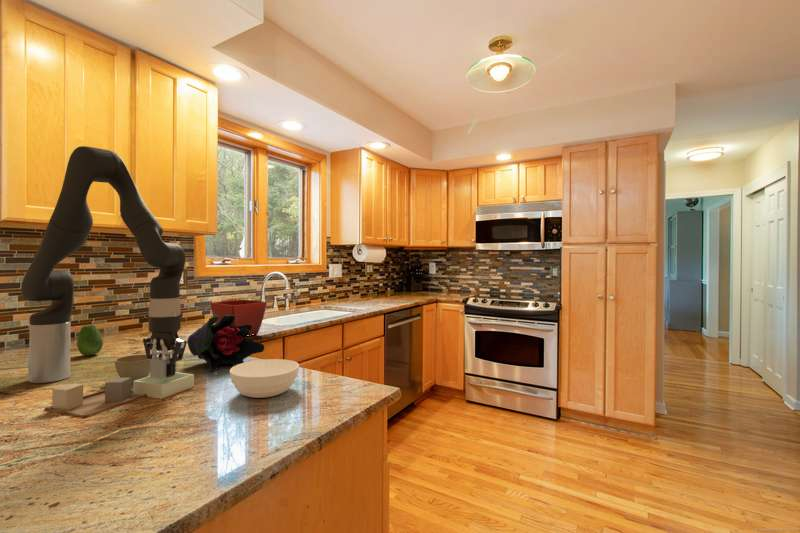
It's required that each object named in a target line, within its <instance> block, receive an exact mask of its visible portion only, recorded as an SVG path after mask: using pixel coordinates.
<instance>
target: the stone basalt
mask: <svg viewBox="0 0 800 533" xmlns="http://www.w3.org/2000/svg"><path fill="white" fill-rule="evenodd" d="M104 390H105V402H122V401H124V400H126V399H128V398H129V397H131V394H132V390H133V383H132V378H120V377H114V378H112V379H110V380H108V381H106V382H104Z"/></svg>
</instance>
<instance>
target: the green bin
mask: <svg viewBox="0 0 800 533" xmlns="http://www.w3.org/2000/svg"><path fill="white" fill-rule="evenodd" d="M194 387H195V374H193V373H185V372H178V371H176V372H175V375H174V376H171V377H166V378H163V379H157V378H150V375H148V376H147V377H145V378H142V379H138V380H135V381H133V383H132V390H133V394H136V395H144V394H147V397H149V398H154V399H155V398H156V399H162V400H163V399H164V398H167V397H171V396H173V395H175V394H178V393H181V392H183V391H186V390H189V389H191V388H194Z"/></svg>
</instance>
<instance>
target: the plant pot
mask: <svg viewBox="0 0 800 533" xmlns="http://www.w3.org/2000/svg"><path fill="white" fill-rule="evenodd" d="M210 308H211V313H212V317H213V316H214V315H215V314H216V315H217V316H218V317H219V318H218V320H216V322H215V323H214V324H216V323H218V322H219V321H220V320H221V319H222V317H223V316H224V315H233V316H235V319H234V321H233V322H232V325H231V326H243V325H250V326H252V328H251V330H249V334H248V335H252V334H257V335H258V334H259V331H260V329H261V326H262V323H263V320H264V316H265V312H266V308H267V301H262V300H261V301H260V300H252V299H238V300H237V299H236V300H234V299H233V300H225V301H222V300H221V301H214V302H210Z"/></svg>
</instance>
